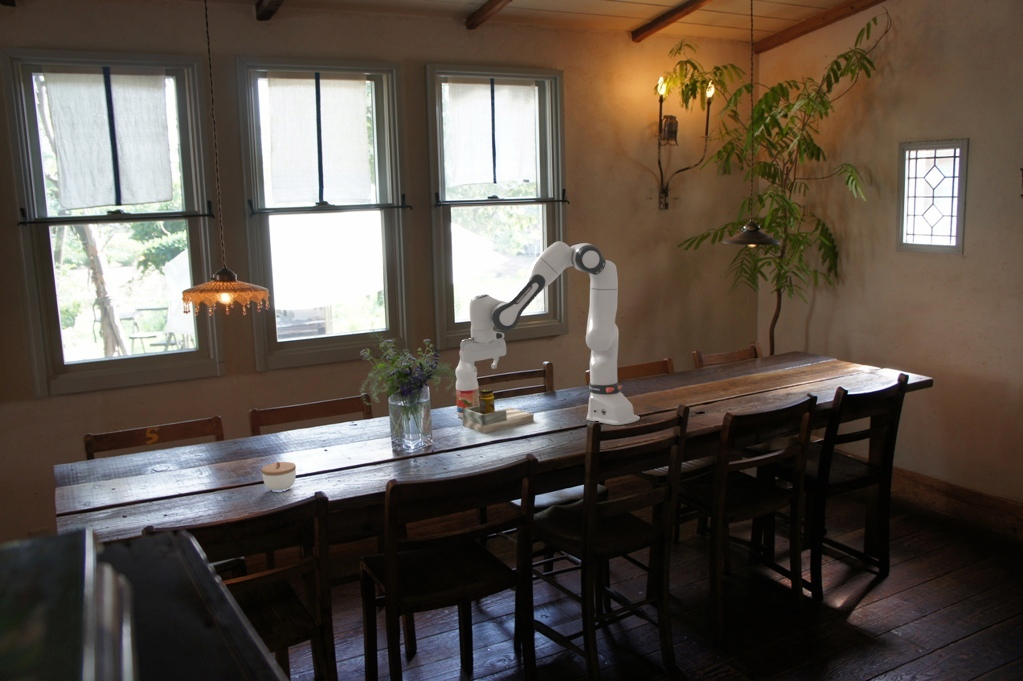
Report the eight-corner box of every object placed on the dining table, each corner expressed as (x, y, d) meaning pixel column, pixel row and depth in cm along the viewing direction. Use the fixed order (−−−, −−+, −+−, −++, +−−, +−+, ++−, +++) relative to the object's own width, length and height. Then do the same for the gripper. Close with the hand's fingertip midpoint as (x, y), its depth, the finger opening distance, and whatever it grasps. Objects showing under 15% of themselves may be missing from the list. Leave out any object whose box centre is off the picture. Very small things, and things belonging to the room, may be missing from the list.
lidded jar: (275, 483, 285) (272, 456, 283) (303, 485, 282) (301, 457, 280) (257, 494, 275) (254, 466, 273) (286, 496, 272) (283, 468, 270)
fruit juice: (484, 416, 359) (480, 350, 354) (464, 420, 354) (460, 354, 349) (472, 412, 366) (469, 348, 362) (453, 415, 361) (449, 351, 357)
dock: (533, 421, 346) (533, 404, 345) (484, 433, 333) (483, 416, 331) (510, 414, 359) (510, 398, 358) (462, 425, 346) (461, 408, 344)
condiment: (499, 419, 341) (497, 390, 339) (481, 423, 337) (479, 393, 335) (489, 415, 347) (488, 387, 345) (471, 419, 343) (470, 390, 341)
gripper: (464, 340, 328) (466, 375, 330) (507, 333, 340) (509, 367, 342) (455, 339, 333) (458, 373, 335) (498, 331, 345) (500, 365, 347)
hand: (484, 370), depth 339 cm, fingers open, 8 cm apart
